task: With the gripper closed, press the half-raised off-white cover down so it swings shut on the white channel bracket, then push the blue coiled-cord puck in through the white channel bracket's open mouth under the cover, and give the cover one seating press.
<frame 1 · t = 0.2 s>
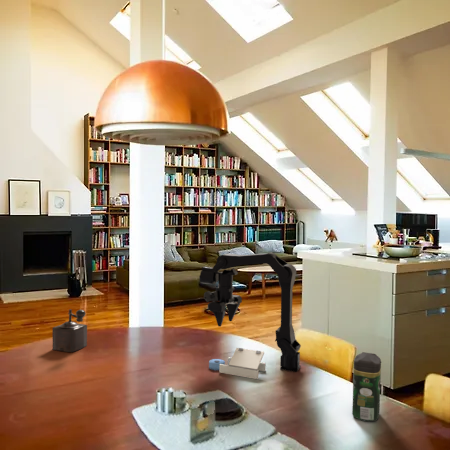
hand: (225, 323, 193), 14 cm above the table, fingers open, 9 cm apart
manual coffee grinder: (74, 349, 202), on the table
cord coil: (216, 367, 184), on the table
cover: (246, 358, 178), point 5 cm above the table, hinge at 26.0°, touching white channel bracket
coffee jar: (365, 416, 145), on the table
white channel bracket: (242, 371, 179), on the table
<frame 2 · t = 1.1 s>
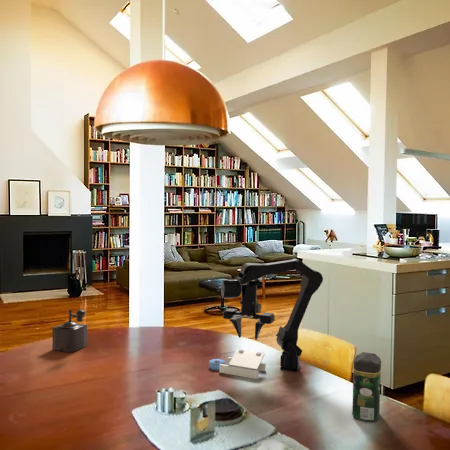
hand: (248, 338, 179), 12 cm above the table, fingers open, 6 cm apart
cover: (246, 359, 178), point 5 cm above the table, hinge at 20.7°, touching white channel bracket
everything else where it was.
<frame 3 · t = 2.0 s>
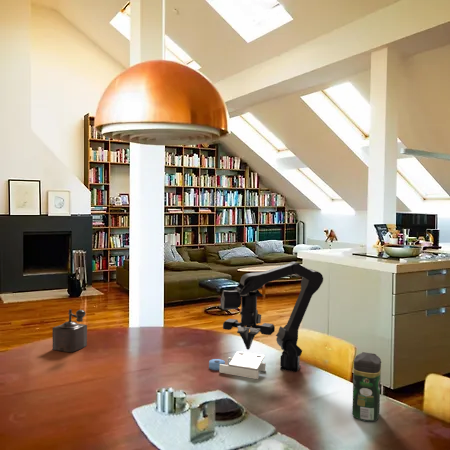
hand: (248, 349, 179), 8 cm above the table, fingers closed
cover: (246, 360, 179), point 5 cm above the table, hinge at 15.0°, touching white channel bracket
everything else where it was.
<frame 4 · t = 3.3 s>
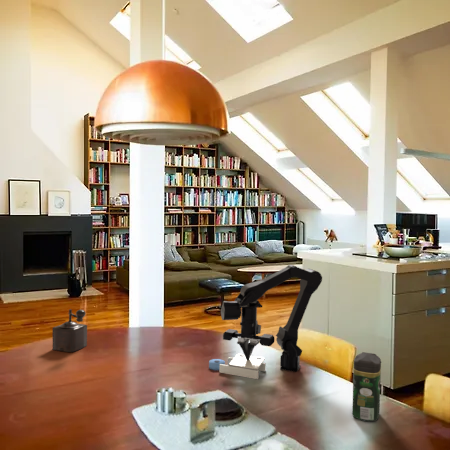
hand: (248, 359, 180), 4 cm above the table, fingers closed, pressing on cover
cover: (247, 361, 179), point 4 cm above the table, hinge at 7.8°, touching white channel bracket, gripper
everything else where it was.
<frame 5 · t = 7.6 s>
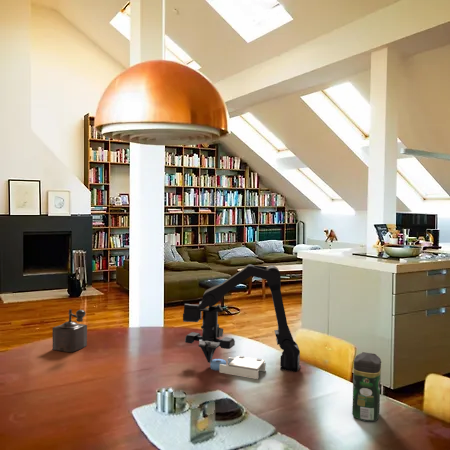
hand: (209, 362, 185), 1 cm above the table, fingers closed
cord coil: (218, 367, 183), on the table, touching gripper
cover: (247, 362, 179), point 4 cm above the table, hinge at 2.1°, touching white channel bracket
everything else where it was.
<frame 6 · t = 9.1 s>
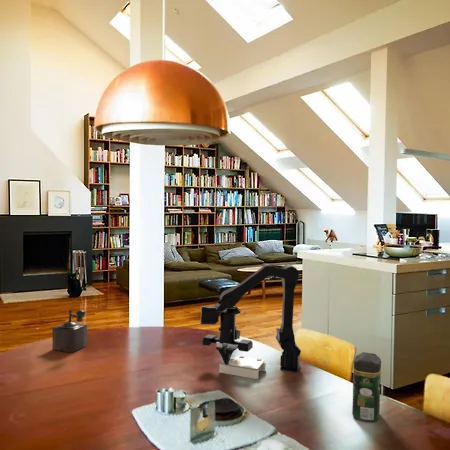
hand: (226, 364, 182), 2 cm above the table, fingers closed
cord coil: (235, 371, 180), on the table, touching gripper
everything else where it was.
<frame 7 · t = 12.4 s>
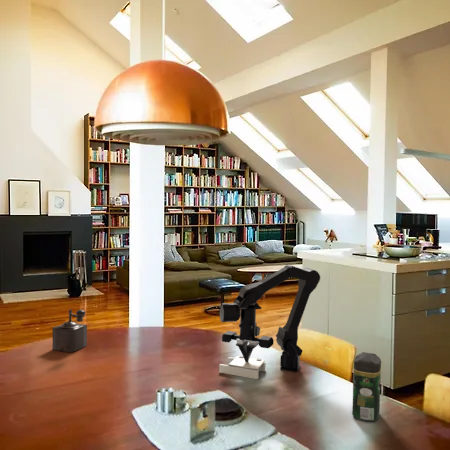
hand: (246, 361, 179), 4 cm above the table, fingers closed, pressing on cover
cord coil: (236, 371, 180), on the table
cover: (247, 362, 179), point 4 cm above the table, hinge at 2.1°, touching white channel bracket, gripper
everything else where it was.
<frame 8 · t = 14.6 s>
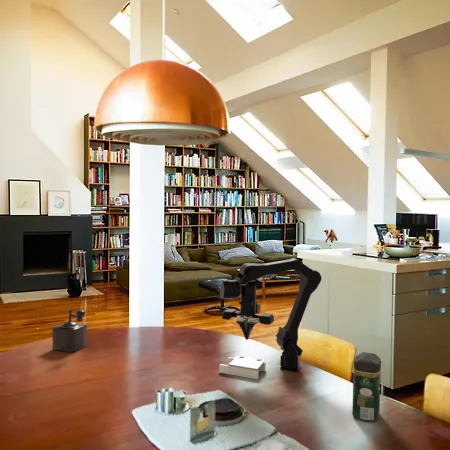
hand: (247, 339, 178), 12 cm above the table, fingers closed
cover: (247, 362, 179), point 4 cm above the table, hinge at 2.1°, touching white channel bracket
everything else where it was.
at the end: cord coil inside the target area on the white channel bracket (3.5 cm from its centre), point 0.0 cm above the white channel bracket's base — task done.
